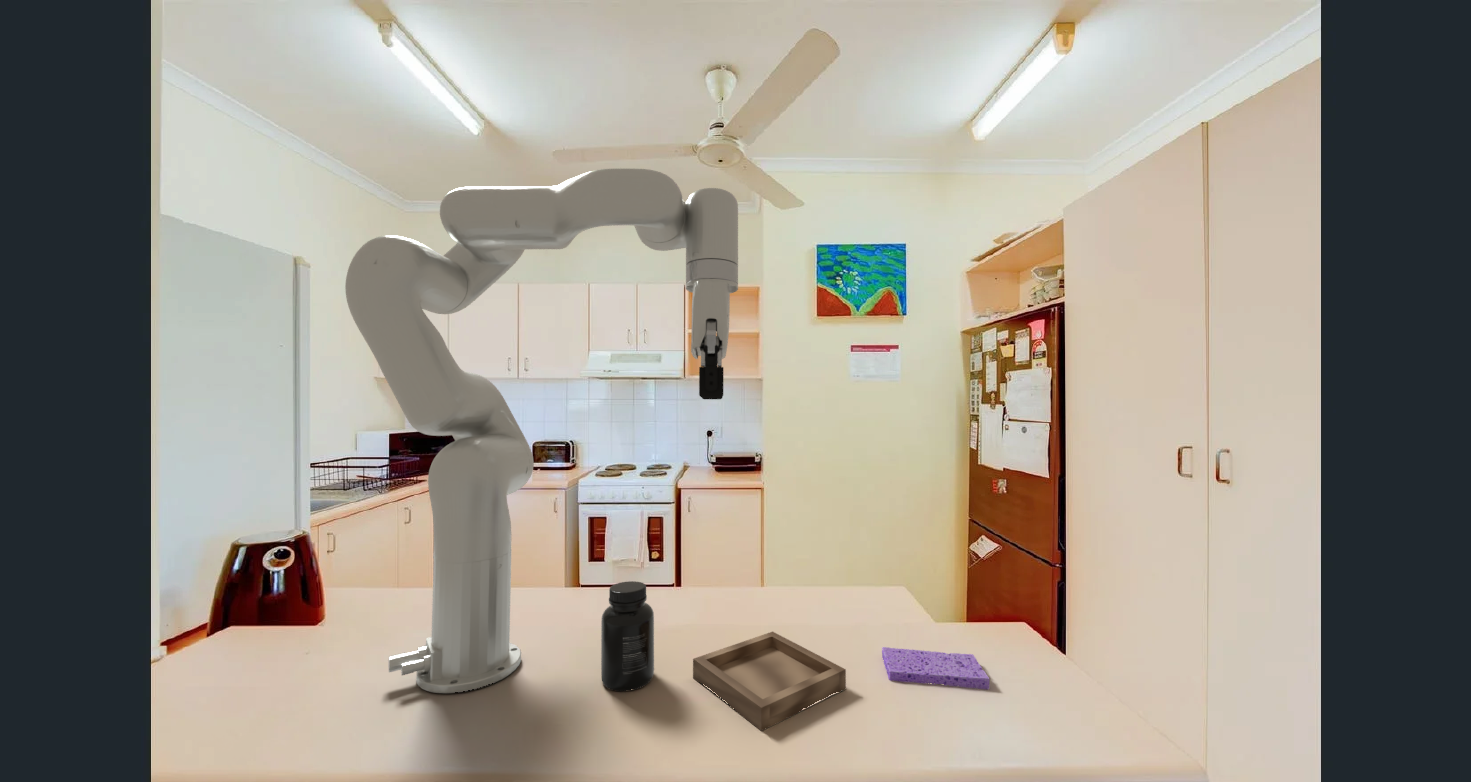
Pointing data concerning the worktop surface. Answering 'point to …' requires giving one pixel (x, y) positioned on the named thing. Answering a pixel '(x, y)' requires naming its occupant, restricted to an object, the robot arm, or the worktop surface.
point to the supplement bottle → (627, 638)
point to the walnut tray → (768, 678)
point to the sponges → (934, 668)
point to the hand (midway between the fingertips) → (711, 398)
